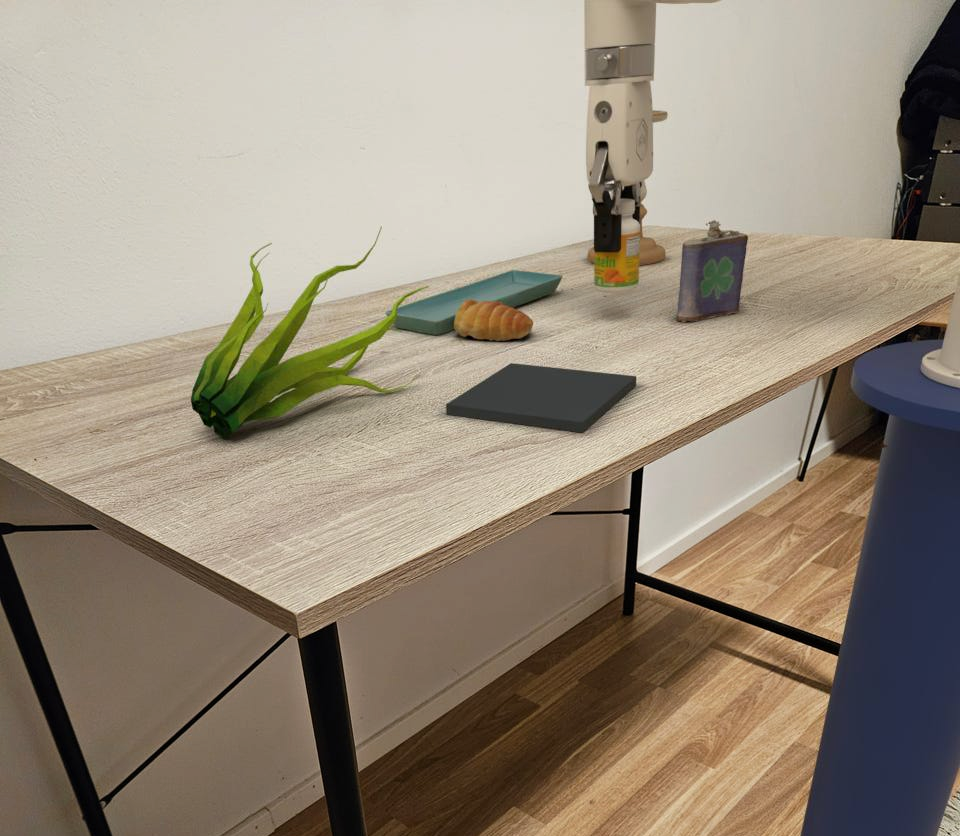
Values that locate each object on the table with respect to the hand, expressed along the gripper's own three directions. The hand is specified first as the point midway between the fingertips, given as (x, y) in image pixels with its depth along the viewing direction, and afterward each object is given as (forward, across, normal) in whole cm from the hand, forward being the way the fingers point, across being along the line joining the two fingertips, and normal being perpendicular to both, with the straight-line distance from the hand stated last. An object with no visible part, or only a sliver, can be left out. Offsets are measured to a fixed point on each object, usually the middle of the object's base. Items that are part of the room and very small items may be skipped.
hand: (616, 245), depth 106 cm
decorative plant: (+8, -37, +19) cm, 42 cm away
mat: (+9, -31, -4) cm, 32 cm away
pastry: (+9, -11, +12) cm, 18 cm away
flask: (+9, +5, -10) cm, 15 cm away
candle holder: (+8, +36, +12) cm, 39 cm away
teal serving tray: (+8, -1, +19) cm, 21 cm away
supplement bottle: (+5, 0, 0) cm, 5 cm away
